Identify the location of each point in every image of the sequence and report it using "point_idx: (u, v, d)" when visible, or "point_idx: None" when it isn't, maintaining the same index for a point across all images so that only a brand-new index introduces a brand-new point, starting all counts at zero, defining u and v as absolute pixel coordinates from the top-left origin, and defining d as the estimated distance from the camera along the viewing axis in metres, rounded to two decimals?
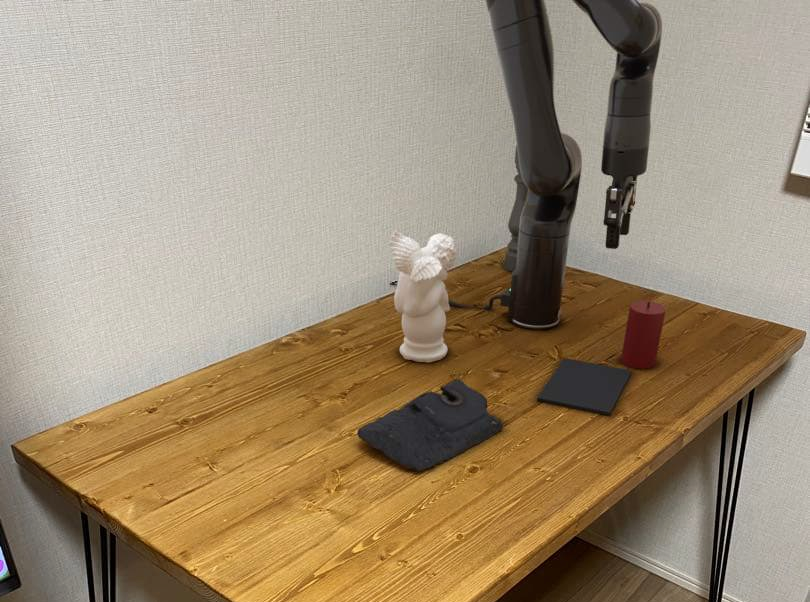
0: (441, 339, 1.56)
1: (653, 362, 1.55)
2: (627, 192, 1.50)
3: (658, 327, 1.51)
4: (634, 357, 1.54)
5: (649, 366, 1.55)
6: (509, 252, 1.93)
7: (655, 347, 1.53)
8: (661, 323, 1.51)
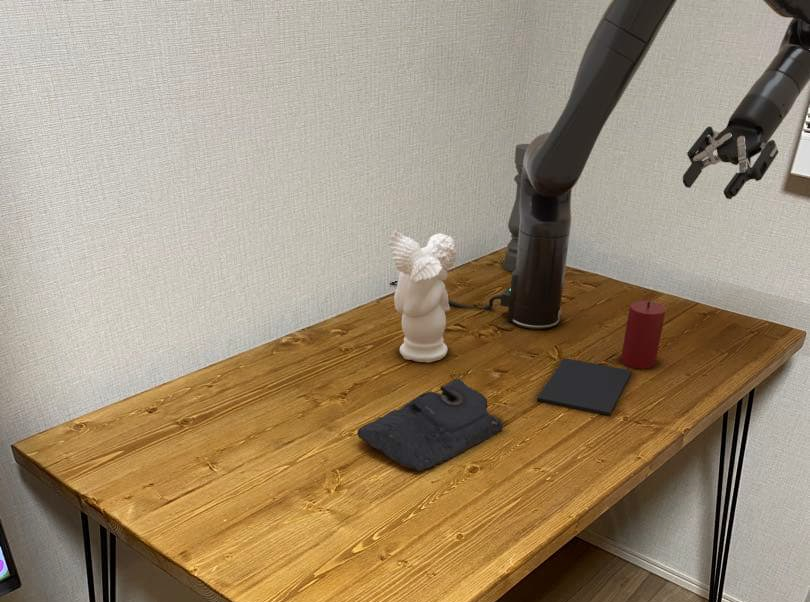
0: (441, 339, 1.56)
1: (653, 362, 1.55)
2: None
3: (658, 327, 1.51)
4: (634, 357, 1.54)
5: (649, 366, 1.55)
6: (509, 252, 1.93)
7: (655, 347, 1.53)
8: (661, 323, 1.51)
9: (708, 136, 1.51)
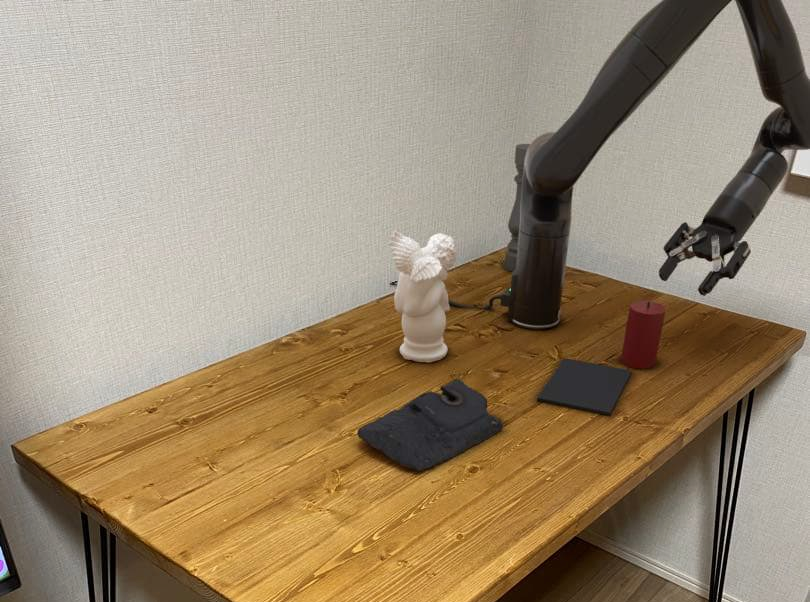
0: (441, 339, 1.56)
1: (653, 362, 1.55)
2: None
3: (658, 327, 1.51)
4: (634, 357, 1.54)
5: (649, 366, 1.55)
6: (509, 252, 1.93)
7: (655, 347, 1.53)
8: (661, 323, 1.51)
9: (684, 232, 1.56)
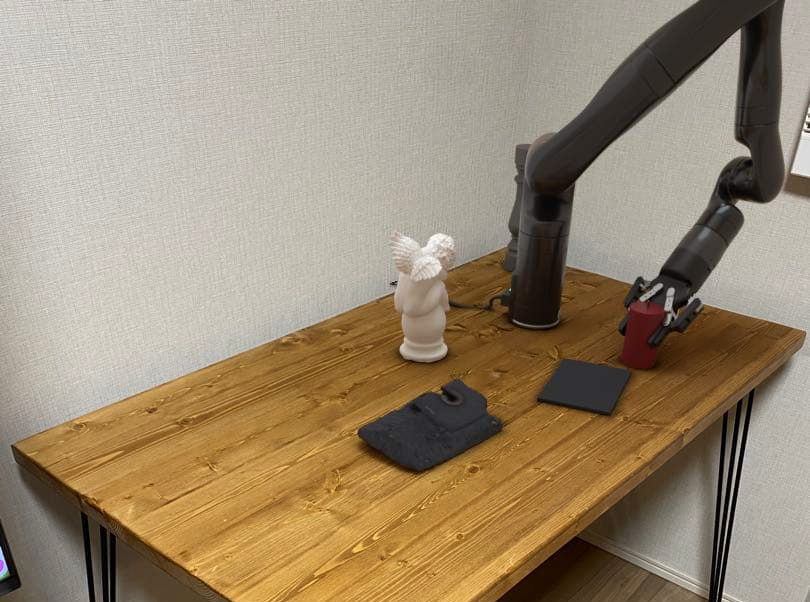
0: (441, 339, 1.56)
1: (653, 362, 1.55)
2: None
3: None
4: (634, 357, 1.54)
5: (649, 366, 1.55)
6: (509, 252, 1.93)
7: None
8: (661, 323, 1.51)
9: (640, 285, 1.55)
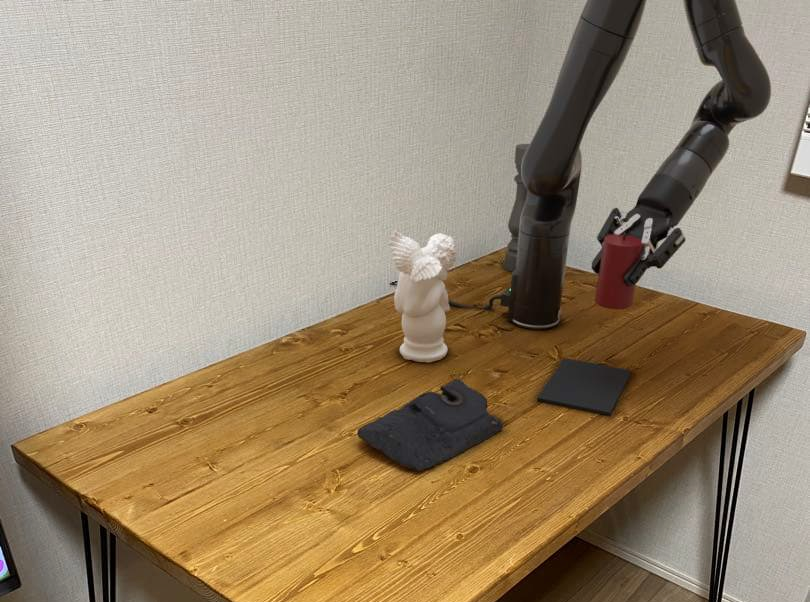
0: (441, 339, 1.56)
1: (630, 302, 1.41)
2: None
3: None
4: (609, 297, 1.39)
5: (626, 306, 1.40)
6: (509, 252, 1.93)
7: None
8: (638, 257, 1.36)
9: (616, 218, 1.41)
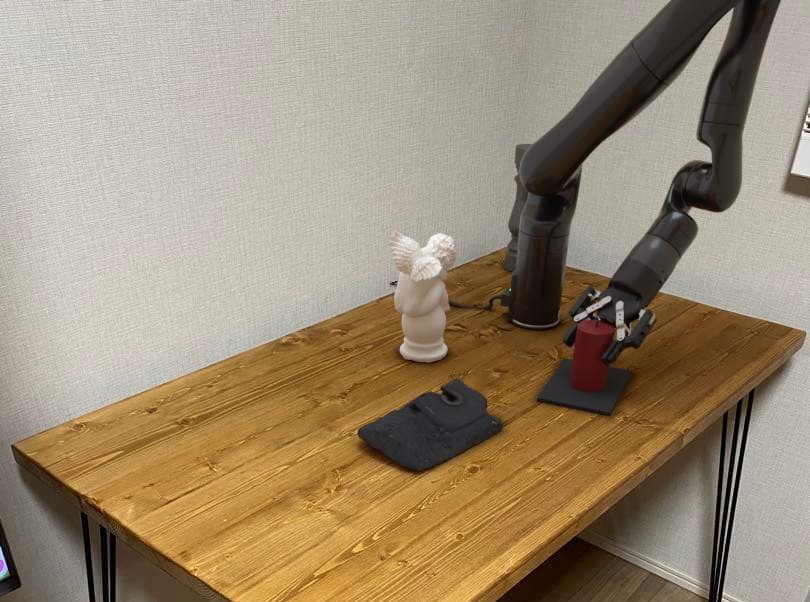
0: (441, 339, 1.56)
1: (603, 384, 1.46)
2: None
3: (607, 348, 1.42)
4: (583, 380, 1.45)
5: (599, 389, 1.46)
6: (509, 252, 1.93)
7: (605, 369, 1.44)
8: (610, 344, 1.42)
9: (589, 295, 1.46)
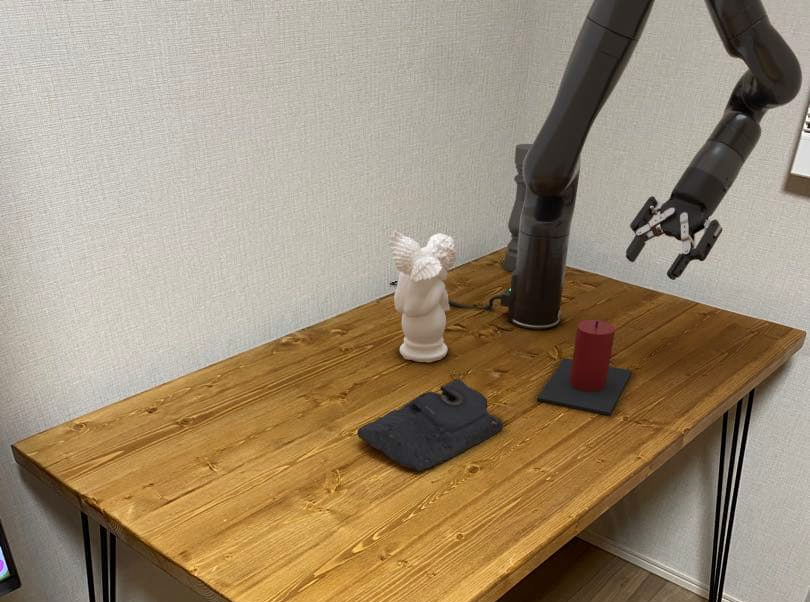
0: (441, 339, 1.56)
1: (603, 384, 1.46)
2: None
3: (607, 348, 1.42)
4: (583, 380, 1.45)
5: (599, 389, 1.46)
6: (509, 252, 1.93)
7: (605, 369, 1.44)
8: (610, 344, 1.42)
9: (651, 207, 1.45)
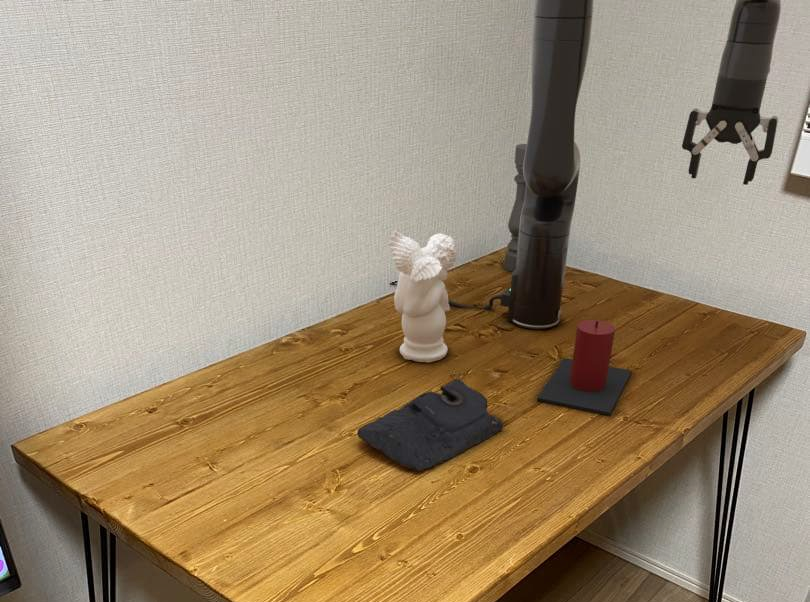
0: (441, 339, 1.56)
1: (603, 384, 1.46)
2: None
3: (607, 348, 1.42)
4: (583, 380, 1.45)
5: (599, 389, 1.46)
6: (509, 252, 1.93)
7: (605, 369, 1.44)
8: (610, 344, 1.42)
9: (697, 123, 1.46)
